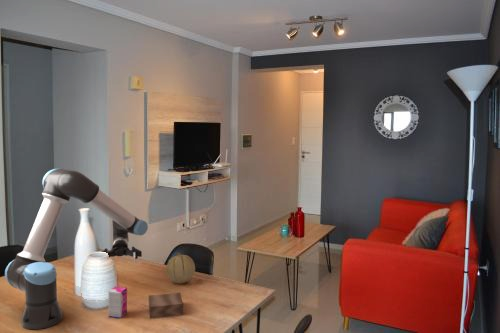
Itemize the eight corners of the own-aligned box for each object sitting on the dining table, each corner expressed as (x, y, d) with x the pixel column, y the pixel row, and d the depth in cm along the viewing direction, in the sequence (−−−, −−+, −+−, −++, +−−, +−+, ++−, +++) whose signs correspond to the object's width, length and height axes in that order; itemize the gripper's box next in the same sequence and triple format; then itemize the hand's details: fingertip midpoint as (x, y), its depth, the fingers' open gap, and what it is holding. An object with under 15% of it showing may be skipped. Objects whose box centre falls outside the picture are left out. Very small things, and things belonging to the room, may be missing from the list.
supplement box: (121, 318, 177) (120, 292, 176) (108, 317, 178) (107, 291, 177) (127, 312, 182) (127, 287, 181) (115, 311, 184) (114, 286, 182)
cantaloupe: (182, 290, 207) (182, 260, 205) (160, 284, 214) (160, 255, 213) (201, 280, 219) (201, 253, 218) (179, 275, 227) (179, 248, 225)
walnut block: (149, 318, 177) (149, 307, 177) (148, 306, 189) (148, 295, 188) (183, 314, 181) (183, 303, 181) (180, 303, 193) (180, 292, 192)
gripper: (146, 252, 213) (147, 266, 193) (93, 256, 207) (89, 271, 187) (145, 237, 213) (147, 250, 192) (93, 241, 206) (88, 255, 186)
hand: (118, 261), depth 189 cm, fingers open, 13 cm apart
